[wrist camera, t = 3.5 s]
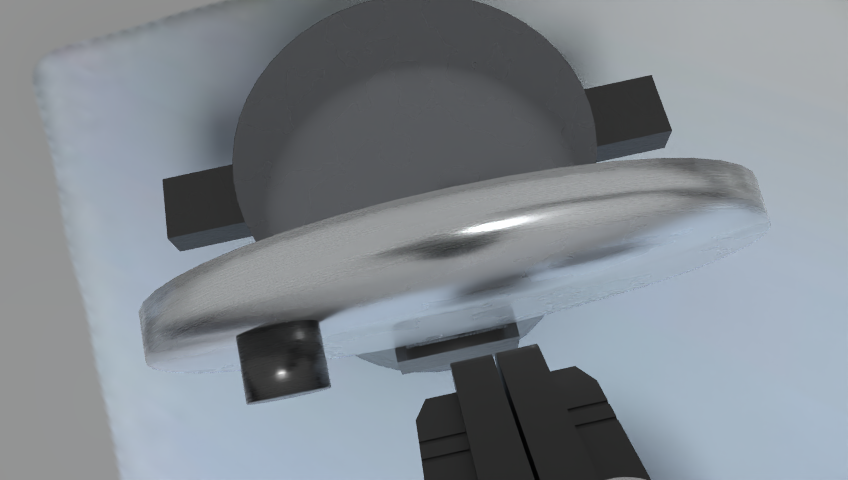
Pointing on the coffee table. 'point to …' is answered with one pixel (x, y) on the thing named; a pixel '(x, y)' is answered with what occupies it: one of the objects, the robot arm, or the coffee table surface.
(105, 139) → the coffee table surface
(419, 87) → the cooker pot
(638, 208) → the cooker lid
